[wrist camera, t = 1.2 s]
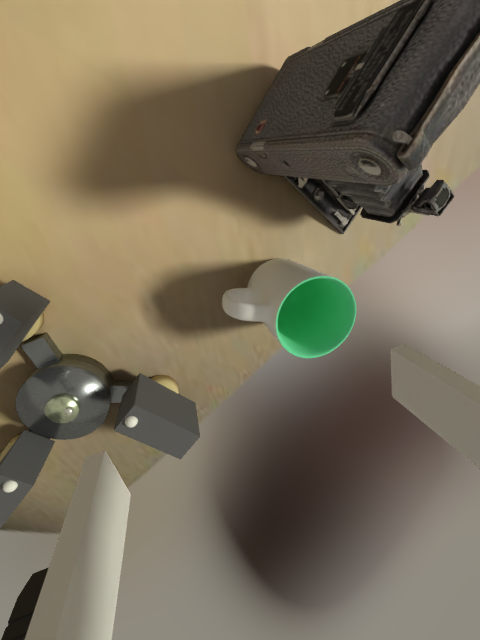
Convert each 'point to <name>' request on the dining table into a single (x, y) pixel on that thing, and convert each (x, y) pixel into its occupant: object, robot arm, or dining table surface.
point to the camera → (370, 111)
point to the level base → (65, 392)
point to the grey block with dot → (18, 317)
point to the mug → (295, 306)
